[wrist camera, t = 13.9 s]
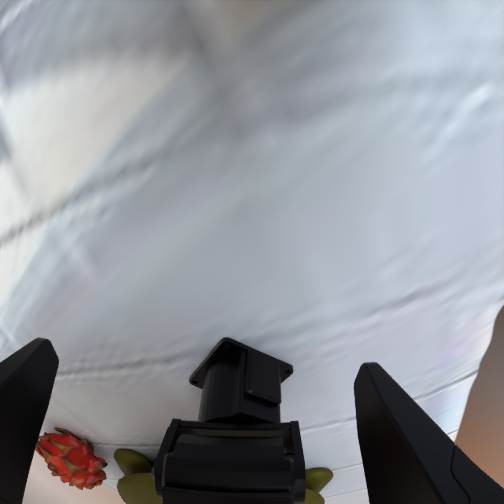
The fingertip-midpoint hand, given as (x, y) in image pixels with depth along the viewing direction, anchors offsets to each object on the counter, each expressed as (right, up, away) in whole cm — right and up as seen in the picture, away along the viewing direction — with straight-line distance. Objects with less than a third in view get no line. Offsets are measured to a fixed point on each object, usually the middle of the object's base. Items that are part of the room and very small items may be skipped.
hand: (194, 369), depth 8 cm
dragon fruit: (-24, -24, +28) cm, 44 cm away
